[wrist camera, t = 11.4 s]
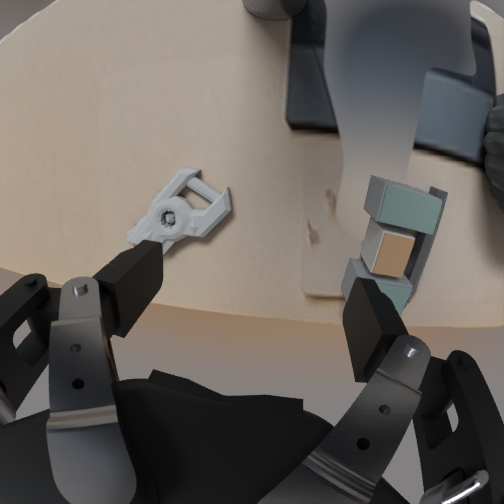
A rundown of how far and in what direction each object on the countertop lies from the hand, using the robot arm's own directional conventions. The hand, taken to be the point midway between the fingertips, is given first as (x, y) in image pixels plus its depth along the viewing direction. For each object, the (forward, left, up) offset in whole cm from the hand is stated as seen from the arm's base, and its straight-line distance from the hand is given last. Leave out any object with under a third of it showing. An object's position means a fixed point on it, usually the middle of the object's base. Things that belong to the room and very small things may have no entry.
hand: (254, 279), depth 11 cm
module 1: (0, +18, -28) cm, 33 cm away
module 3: (+12, +18, -28) cm, 35 cm away
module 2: (+6, +17, -28) cm, 33 cm away
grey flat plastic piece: (+8, -14, -29) cm, 33 cm away
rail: (+6, +24, -28) cm, 37 cm away
